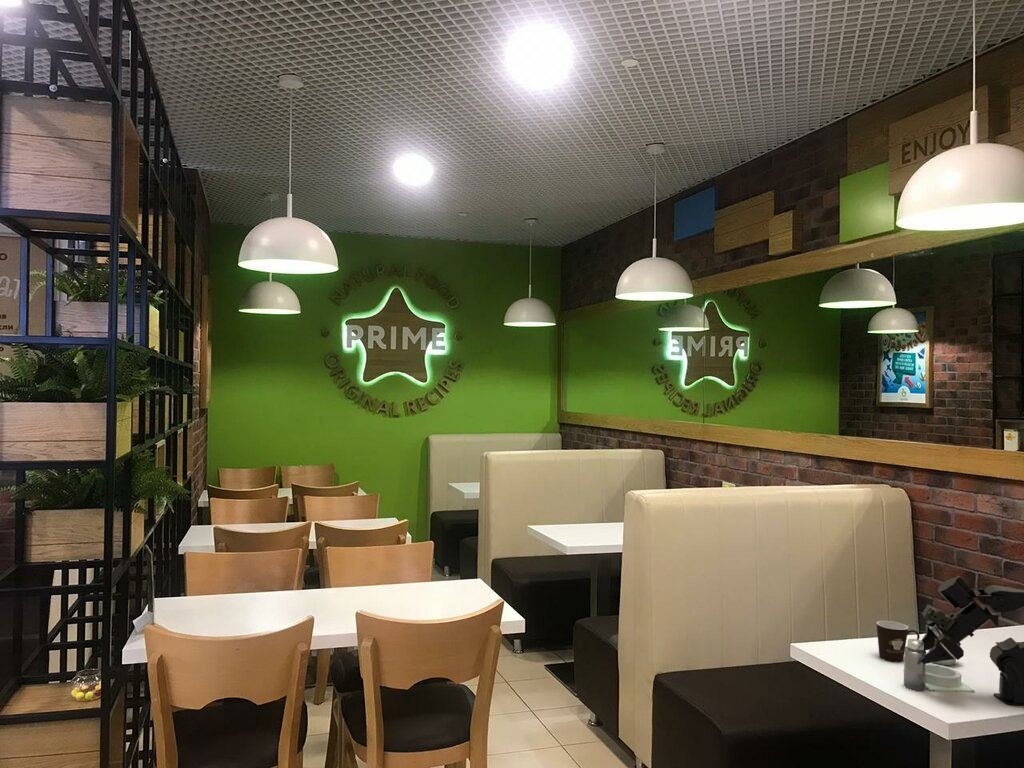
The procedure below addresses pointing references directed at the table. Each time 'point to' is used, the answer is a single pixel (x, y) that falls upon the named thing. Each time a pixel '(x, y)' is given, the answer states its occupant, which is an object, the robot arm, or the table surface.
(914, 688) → the metal bottle
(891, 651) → the coffee mug
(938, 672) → the ring plate
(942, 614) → the robot arm
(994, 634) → the table surface
